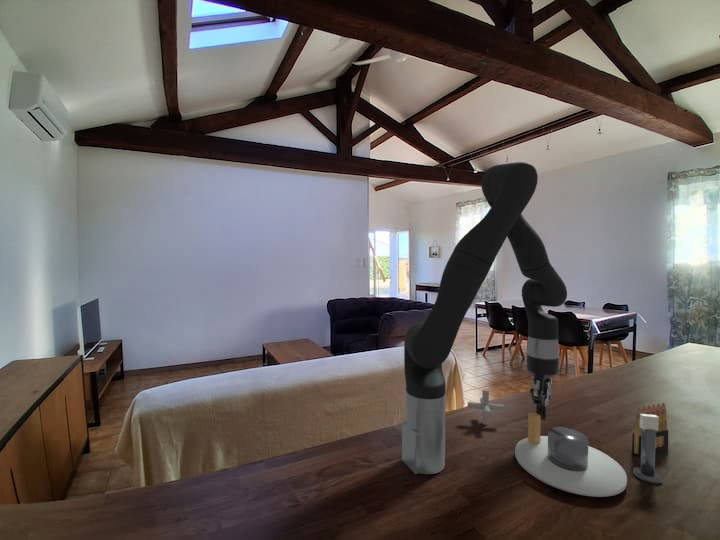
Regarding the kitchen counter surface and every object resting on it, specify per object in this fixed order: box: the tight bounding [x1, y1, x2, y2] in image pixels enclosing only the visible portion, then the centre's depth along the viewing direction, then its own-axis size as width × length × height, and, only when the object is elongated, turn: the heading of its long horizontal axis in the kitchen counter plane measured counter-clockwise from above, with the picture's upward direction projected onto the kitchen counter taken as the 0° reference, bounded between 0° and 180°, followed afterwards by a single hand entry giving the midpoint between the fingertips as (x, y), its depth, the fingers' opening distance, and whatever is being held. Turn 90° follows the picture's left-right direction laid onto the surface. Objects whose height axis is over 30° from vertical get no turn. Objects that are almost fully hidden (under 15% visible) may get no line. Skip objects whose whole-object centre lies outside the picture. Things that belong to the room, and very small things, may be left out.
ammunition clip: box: [631, 402, 669, 457], centre depth 88 cm, size 11×2×12 cm, turn 108°
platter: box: [514, 411, 628, 498], centre depth 80 cm, size 22×22×8 cm
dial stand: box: [632, 414, 663, 485], centre depth 78 cm, size 5×5×14 cm
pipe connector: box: [467, 388, 505, 426], centre depth 103 cm, size 10×10×10 cm
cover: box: [547, 426, 589, 472], centre depth 80 cm, size 8×8×6 cm
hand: (541, 418), depth 93 cm, fingers closed
